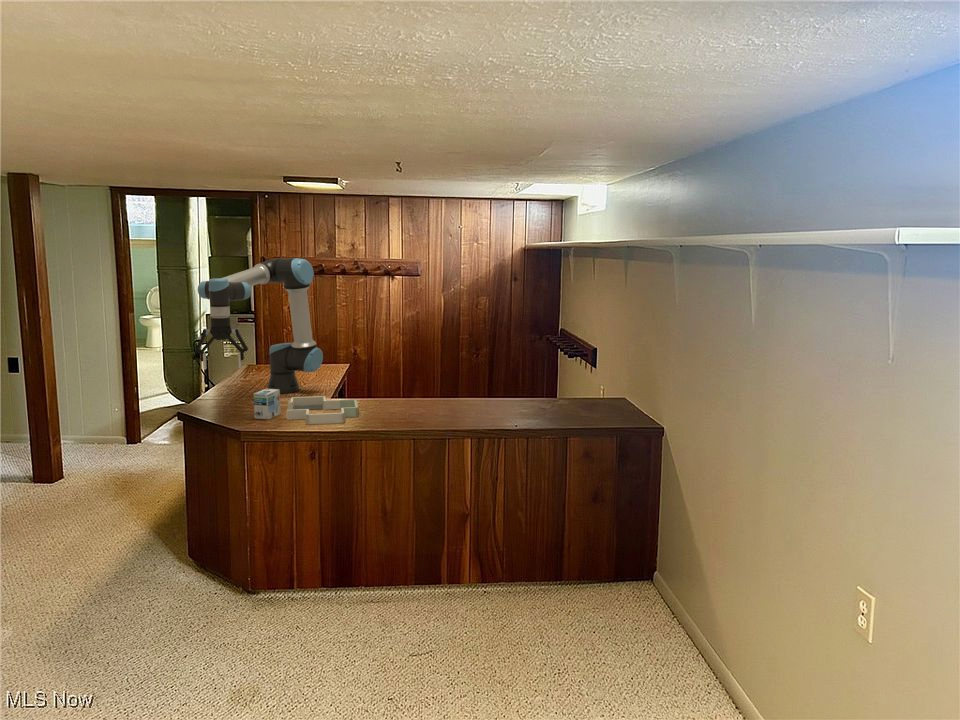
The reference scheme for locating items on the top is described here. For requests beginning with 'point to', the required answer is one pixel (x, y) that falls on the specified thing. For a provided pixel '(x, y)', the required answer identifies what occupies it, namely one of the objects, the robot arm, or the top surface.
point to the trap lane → (346, 406)
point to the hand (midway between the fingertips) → (222, 368)
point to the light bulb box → (267, 403)
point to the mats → (309, 407)
